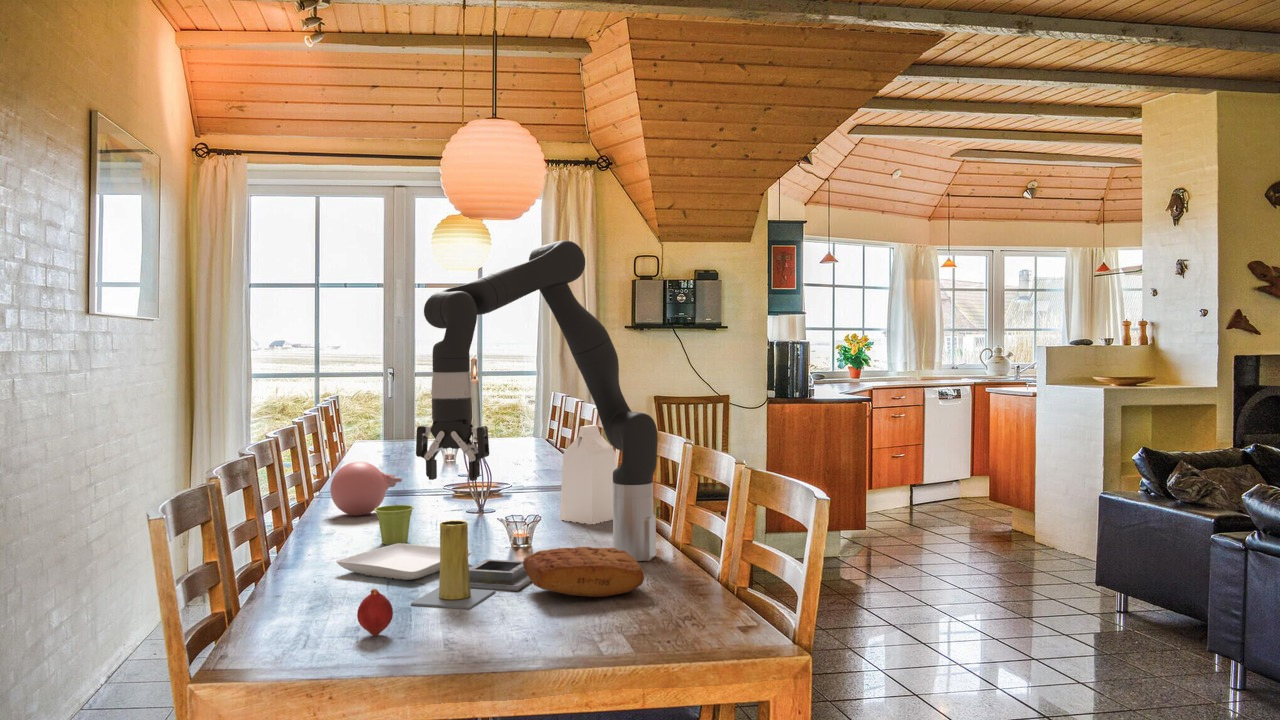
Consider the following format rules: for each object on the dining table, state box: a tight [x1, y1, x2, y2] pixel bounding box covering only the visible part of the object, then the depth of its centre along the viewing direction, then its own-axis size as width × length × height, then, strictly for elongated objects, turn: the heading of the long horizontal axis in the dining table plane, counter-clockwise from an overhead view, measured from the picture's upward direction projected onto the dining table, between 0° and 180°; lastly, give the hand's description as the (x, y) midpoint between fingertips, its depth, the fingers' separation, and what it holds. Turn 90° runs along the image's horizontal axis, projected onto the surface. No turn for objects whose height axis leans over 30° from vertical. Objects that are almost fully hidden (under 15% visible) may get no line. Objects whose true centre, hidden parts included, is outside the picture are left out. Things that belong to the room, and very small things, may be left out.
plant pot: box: [374, 504, 414, 546], centre depth 234 cm, size 9×9×9 cm
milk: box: [559, 424, 617, 525], centre depth 263 cm, size 12×12×26 cm
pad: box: [410, 587, 496, 610], centre depth 183 cm, size 12×12×1 cm
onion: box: [356, 588, 394, 637], centre depth 160 cm, size 6×6×8 cm
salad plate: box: [335, 543, 472, 581], centre depth 207 cm, size 21×21×3 cm
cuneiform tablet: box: [523, 546, 645, 598], centre depth 186 cm, size 22×17×8 cm
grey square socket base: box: [469, 558, 532, 592], centre depth 196 cm, size 14×14×3 cm
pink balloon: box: [330, 461, 403, 517], centre depth 273 cm, size 15×20×15 cm
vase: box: [438, 519, 471, 600], centre depth 183 cm, size 6×6×14 cm
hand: (452, 479), depth 182 cm, fingers open, 8 cm apart
